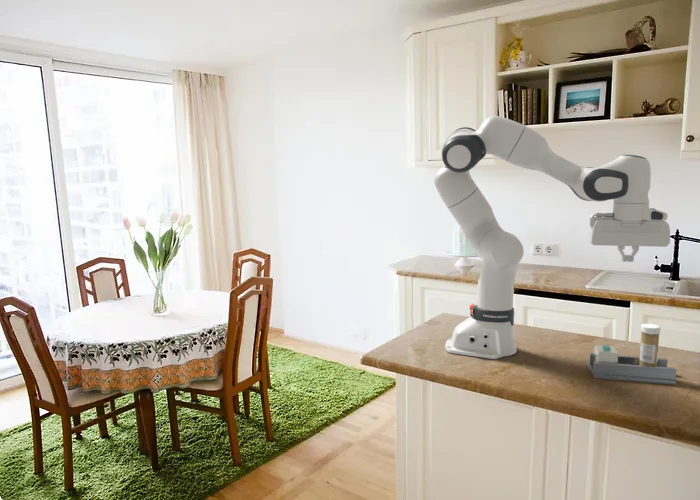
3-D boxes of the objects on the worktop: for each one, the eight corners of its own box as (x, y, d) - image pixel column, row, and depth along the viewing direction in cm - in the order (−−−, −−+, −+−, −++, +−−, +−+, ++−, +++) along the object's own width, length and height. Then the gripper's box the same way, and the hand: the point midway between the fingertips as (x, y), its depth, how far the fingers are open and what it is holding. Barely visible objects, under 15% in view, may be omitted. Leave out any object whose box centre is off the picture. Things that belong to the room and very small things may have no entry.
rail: (594, 378, 145) (596, 351, 143) (588, 365, 154) (589, 339, 153) (676, 384, 139) (678, 356, 138) (664, 371, 149) (666, 344, 148)
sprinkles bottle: (660, 373, 145) (664, 326, 143) (650, 376, 143) (654, 328, 141) (644, 367, 149) (647, 322, 147) (634, 370, 147) (637, 324, 145)
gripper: (592, 213, 147) (589, 262, 149) (674, 214, 142) (670, 264, 144) (588, 212, 153) (585, 258, 155) (666, 212, 148) (663, 260, 150)
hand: (627, 261), depth 149 cm, fingers closed
